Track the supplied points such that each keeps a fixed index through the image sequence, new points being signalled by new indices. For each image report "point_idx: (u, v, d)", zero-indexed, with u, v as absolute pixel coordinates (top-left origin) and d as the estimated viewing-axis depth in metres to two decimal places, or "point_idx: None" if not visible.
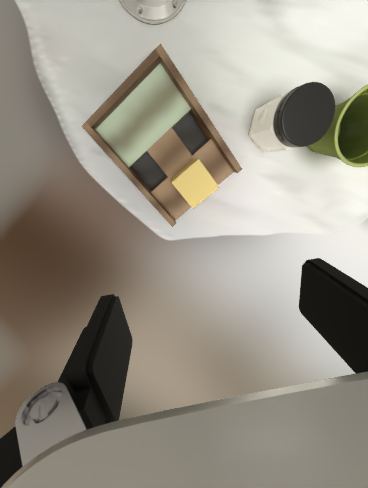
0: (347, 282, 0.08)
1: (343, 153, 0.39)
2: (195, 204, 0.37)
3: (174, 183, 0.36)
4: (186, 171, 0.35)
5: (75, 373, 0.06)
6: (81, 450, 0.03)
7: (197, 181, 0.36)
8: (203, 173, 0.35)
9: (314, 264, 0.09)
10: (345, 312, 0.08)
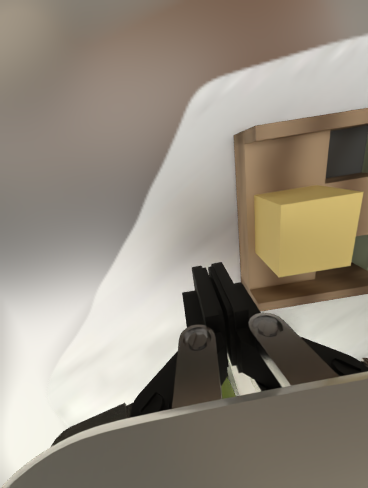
0: (224, 284, 0.09)
1: None
2: (285, 216, 0.15)
3: (357, 197, 0.15)
4: (353, 233, 0.16)
5: (212, 317, 0.07)
6: (81, 450, 0.03)
7: (320, 245, 0.16)
8: (322, 262, 0.17)
9: (215, 268, 0.10)
10: (222, 310, 0.09)
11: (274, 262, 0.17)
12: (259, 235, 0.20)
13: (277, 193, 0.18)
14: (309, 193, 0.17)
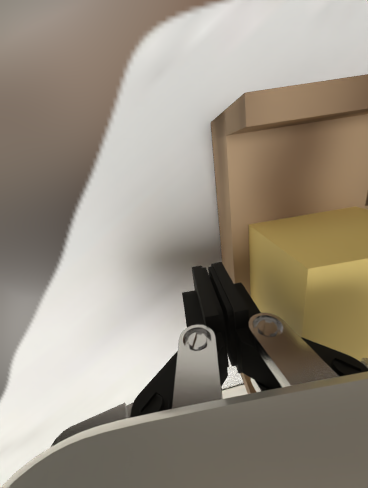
0: (224, 284, 0.09)
1: None
2: (316, 289, 0.07)
3: None
4: None
5: (212, 317, 0.07)
6: (81, 450, 0.03)
7: None
8: None
9: (215, 268, 0.11)
10: (222, 310, 0.09)
11: None
12: (258, 293, 0.11)
13: (289, 223, 0.10)
14: (354, 229, 0.09)
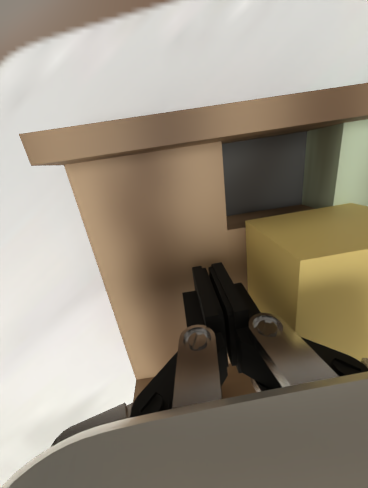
0: (224, 284, 0.09)
1: None
2: (308, 281, 0.07)
3: None
4: None
5: (212, 317, 0.07)
6: (81, 450, 0.03)
7: None
8: None
9: (215, 268, 0.11)
10: (222, 310, 0.09)
11: None
12: (255, 288, 0.12)
13: (285, 219, 0.11)
14: (348, 224, 0.09)
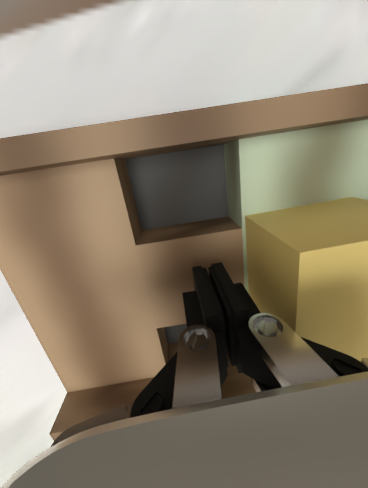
0: (224, 284, 0.09)
1: None
2: (308, 273, 0.07)
3: None
4: None
5: (212, 317, 0.07)
6: (81, 450, 0.03)
7: None
8: None
9: (215, 268, 0.10)
10: (222, 310, 0.09)
11: None
12: (255, 284, 0.11)
13: (285, 213, 0.10)
14: (349, 217, 0.09)
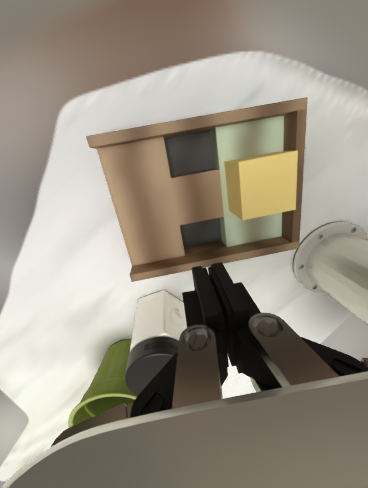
0: (224, 284, 0.09)
1: None
2: (242, 170, 0.20)
3: (293, 154, 0.20)
4: (294, 183, 0.21)
5: (212, 317, 0.07)
6: (81, 450, 0.03)
7: (271, 193, 0.22)
8: (274, 207, 0.22)
9: (215, 268, 0.11)
10: (222, 310, 0.09)
11: (239, 210, 0.23)
12: (230, 193, 0.25)
13: (241, 158, 0.24)
14: (262, 155, 0.22)
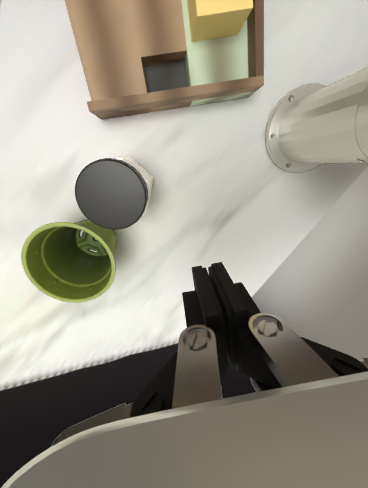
0: (224, 284, 0.09)
1: (59, 246, 0.33)
2: None
3: None
4: None
5: (212, 317, 0.07)
6: (81, 450, 0.03)
7: None
8: (230, 1, 0.21)
9: (215, 268, 0.11)
10: (222, 310, 0.09)
11: (194, 9, 0.22)
12: (189, 10, 0.24)
13: None
14: None
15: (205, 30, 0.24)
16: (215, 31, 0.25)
